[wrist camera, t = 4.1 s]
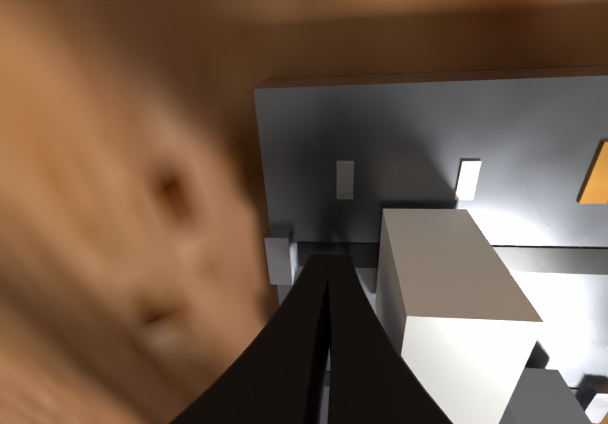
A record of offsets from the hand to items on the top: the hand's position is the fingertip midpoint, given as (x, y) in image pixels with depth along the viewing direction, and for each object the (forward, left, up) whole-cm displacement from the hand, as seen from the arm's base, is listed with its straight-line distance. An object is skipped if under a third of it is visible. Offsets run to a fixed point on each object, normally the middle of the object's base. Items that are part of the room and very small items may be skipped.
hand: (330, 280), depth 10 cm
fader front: (+3, 0, -1) cm, 3 cm away
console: (+4, -4, -3) cm, 7 cm away
